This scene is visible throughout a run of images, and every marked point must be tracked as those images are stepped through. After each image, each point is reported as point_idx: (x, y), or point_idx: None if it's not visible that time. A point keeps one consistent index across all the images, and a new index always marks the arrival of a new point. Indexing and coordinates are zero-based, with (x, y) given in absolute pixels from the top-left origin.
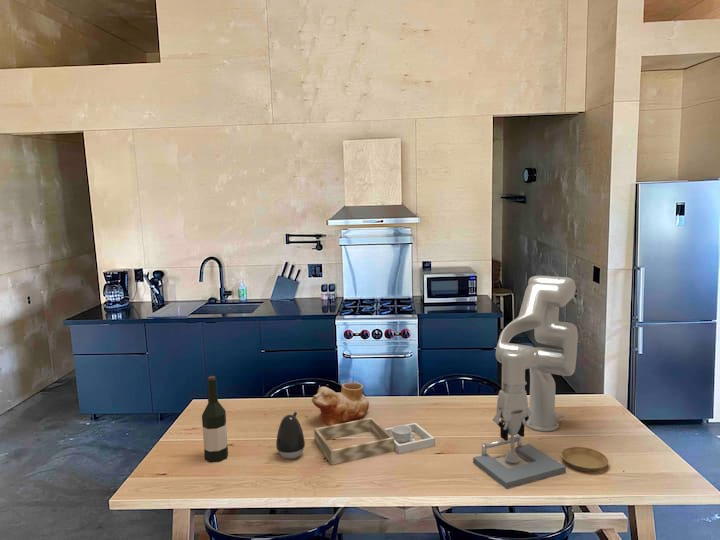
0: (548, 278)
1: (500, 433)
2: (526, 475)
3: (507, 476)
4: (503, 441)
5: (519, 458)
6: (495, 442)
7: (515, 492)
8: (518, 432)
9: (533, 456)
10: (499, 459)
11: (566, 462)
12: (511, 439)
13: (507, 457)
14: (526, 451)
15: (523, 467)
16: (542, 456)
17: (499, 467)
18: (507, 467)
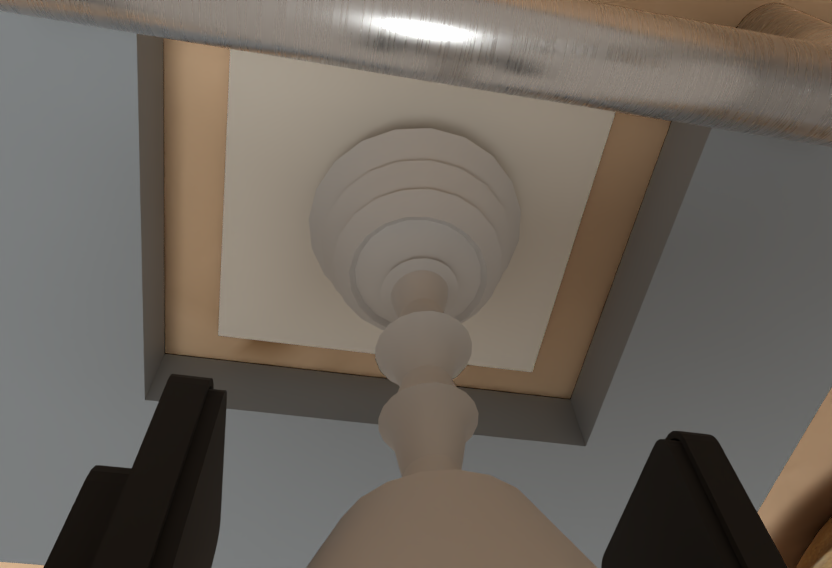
0: None
1: (66, 520)
2: (236, 560)
3: (27, 498)
4: (478, 82)
5: (572, 199)
6: (271, 34)
7: (27, 564)
8: (653, 520)
9: (656, 370)
10: (315, 65)
11: (825, 531)
12: (396, 450)
13: (325, 245)
14: (722, 240)
15: (333, 463)
16: (736, 417)
17: (56, 340)
18: (257, 271)
